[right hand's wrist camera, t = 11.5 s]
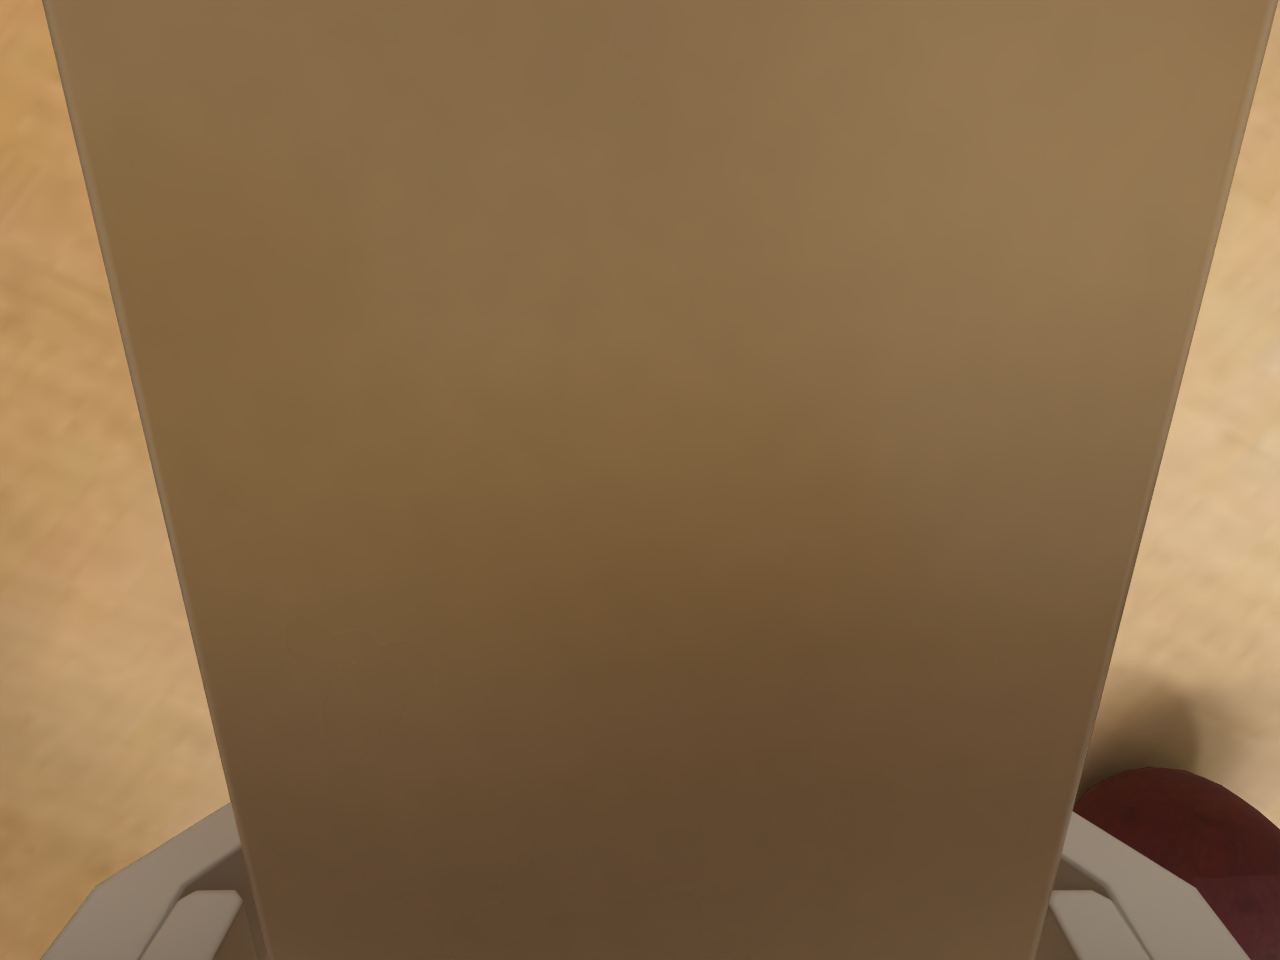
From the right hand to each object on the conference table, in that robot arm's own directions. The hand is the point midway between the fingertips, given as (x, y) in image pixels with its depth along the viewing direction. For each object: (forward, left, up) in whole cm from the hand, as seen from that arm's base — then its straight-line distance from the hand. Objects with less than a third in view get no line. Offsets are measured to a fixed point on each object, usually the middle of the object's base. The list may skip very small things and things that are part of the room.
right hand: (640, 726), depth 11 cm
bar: (0, +9, -4) cm, 9 cm away
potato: (+19, -17, -16) cm, 30 cm away
